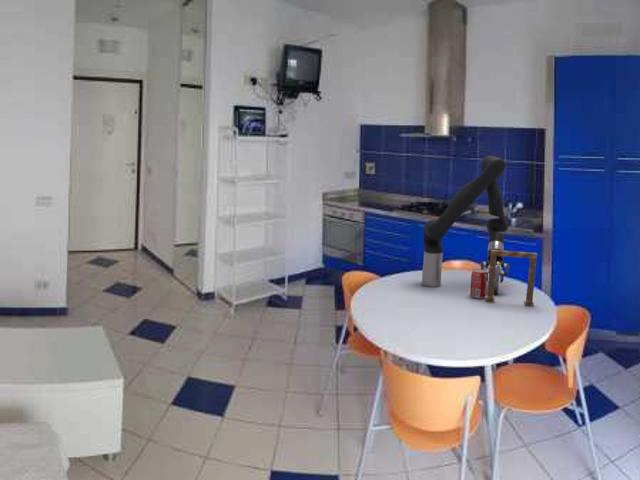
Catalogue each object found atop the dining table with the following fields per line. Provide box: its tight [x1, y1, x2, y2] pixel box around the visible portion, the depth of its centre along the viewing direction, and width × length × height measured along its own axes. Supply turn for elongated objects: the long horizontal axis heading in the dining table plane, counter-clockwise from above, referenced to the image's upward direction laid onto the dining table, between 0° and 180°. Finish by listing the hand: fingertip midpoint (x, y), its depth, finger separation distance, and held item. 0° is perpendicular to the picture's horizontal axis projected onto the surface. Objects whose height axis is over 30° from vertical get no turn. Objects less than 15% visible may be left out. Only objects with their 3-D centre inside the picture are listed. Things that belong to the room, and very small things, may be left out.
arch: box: [484, 250, 538, 307], centre depth 241 cm, size 21×5×24 cm, turn 73°
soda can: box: [469, 268, 488, 300], centre depth 250 cm, size 7×7×13 cm
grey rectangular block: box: [493, 265, 500, 296], centre depth 255 cm, size 4×5×14 cm
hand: (494, 281), depth 253 cm, fingers open, 5 cm apart
